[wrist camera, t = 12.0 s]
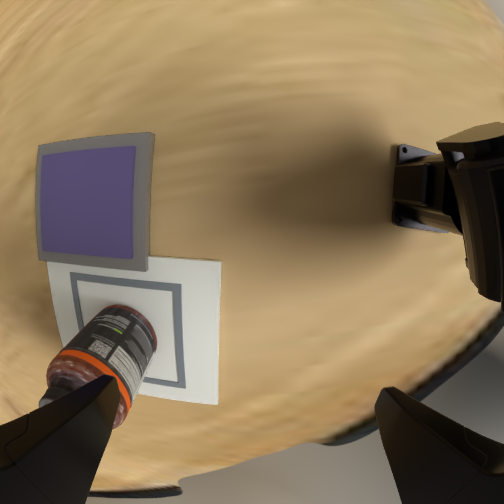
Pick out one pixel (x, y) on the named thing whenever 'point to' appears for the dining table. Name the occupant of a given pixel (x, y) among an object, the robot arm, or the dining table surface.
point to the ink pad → (95, 201)
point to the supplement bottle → (105, 356)
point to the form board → (153, 317)
